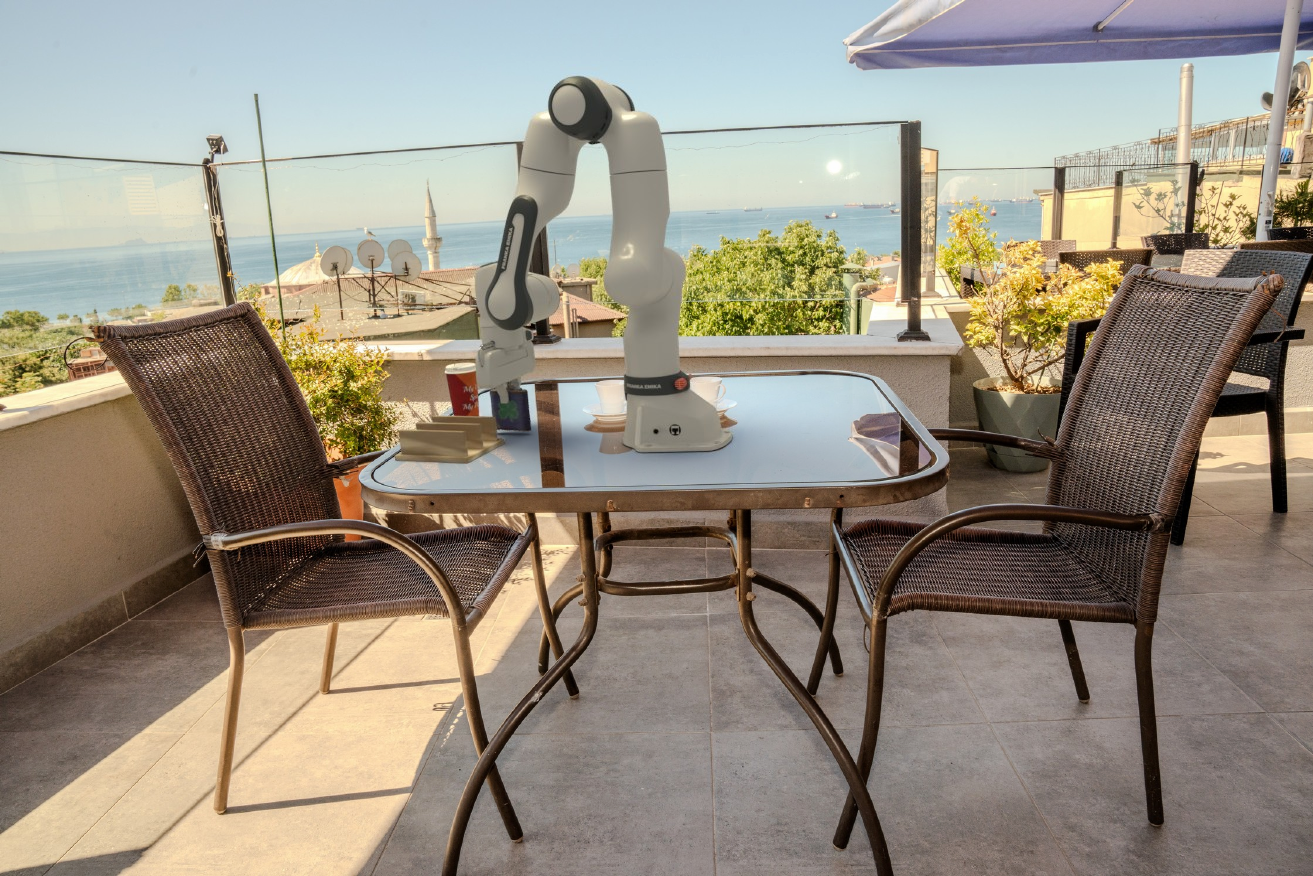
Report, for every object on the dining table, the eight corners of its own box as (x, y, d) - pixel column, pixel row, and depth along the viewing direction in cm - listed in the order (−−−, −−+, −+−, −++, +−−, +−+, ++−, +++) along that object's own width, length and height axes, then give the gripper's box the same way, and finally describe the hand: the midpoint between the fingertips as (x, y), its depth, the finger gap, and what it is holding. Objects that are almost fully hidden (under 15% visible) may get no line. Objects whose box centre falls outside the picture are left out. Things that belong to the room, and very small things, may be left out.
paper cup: (476, 427, 200) (469, 367, 196) (445, 427, 202) (438, 368, 198) (489, 419, 207) (482, 361, 204) (459, 419, 209) (452, 362, 205)
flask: (491, 429, 192) (486, 382, 189) (497, 426, 194) (493, 379, 192) (528, 432, 189) (524, 383, 186) (534, 428, 191) (530, 381, 188)
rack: (436, 440, 190) (432, 414, 188) (504, 443, 184) (501, 415, 183) (395, 460, 176) (391, 431, 175) (467, 463, 171) (464, 433, 169)
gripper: (490, 345, 176) (499, 411, 179) (536, 330, 194) (544, 390, 198) (464, 346, 178) (473, 411, 181) (511, 331, 197) (519, 391, 200)
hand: (510, 400), depth 190 cm, fingers closed on flask, 3 cm apart
